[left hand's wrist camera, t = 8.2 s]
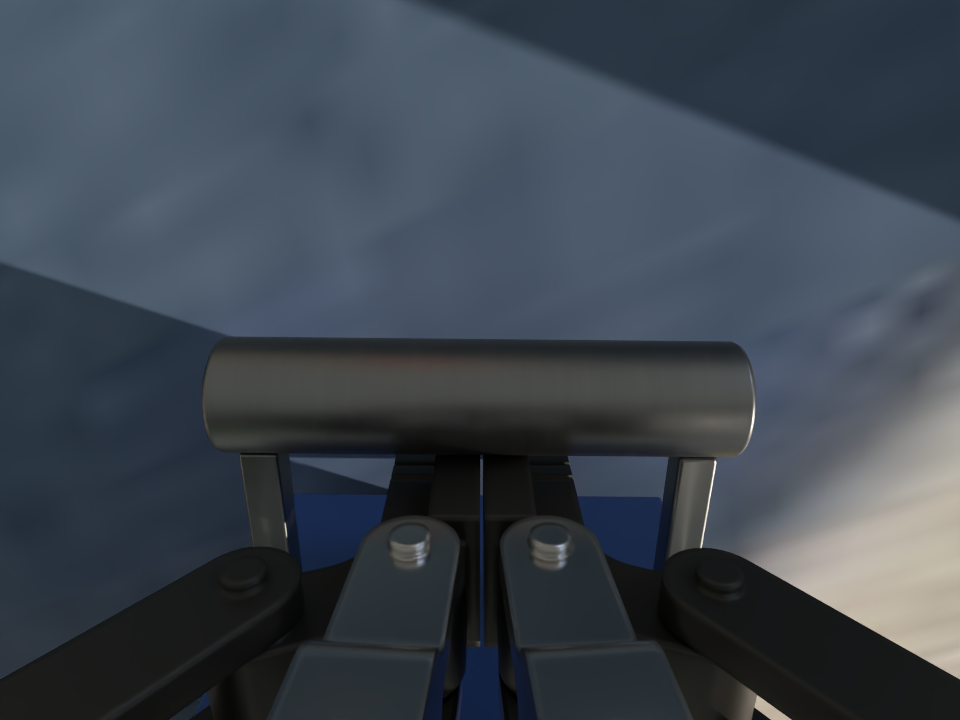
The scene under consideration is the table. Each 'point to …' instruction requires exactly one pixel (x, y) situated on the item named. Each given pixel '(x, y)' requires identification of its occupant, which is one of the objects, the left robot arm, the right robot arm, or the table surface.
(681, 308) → the table surface
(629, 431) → the drawer
